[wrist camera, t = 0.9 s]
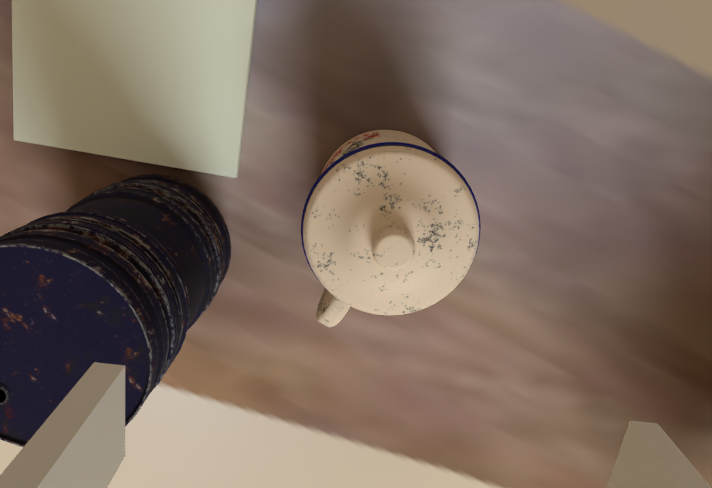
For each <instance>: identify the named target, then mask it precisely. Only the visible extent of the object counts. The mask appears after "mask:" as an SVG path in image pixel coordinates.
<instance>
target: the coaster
mask: <svg viewBox="0 0 712 488" xmlns="http://www.w3.org/2000/svg"><path fill="white" fill-rule="evenodd" d="M257 2H258V0H12V56H13V122H14V140H16V141H22V142H28V143H34V144H40V145H45V146H51V147H57V148H63V149H69V150H75V151H81V152H86V153H92V154H98V155H104V156H110V157H116V158H122V159H127V160H133V161H139V162H145V163H151V164H157V165H163V166H168V167H174V168H180V169H186V170H192V171H198V172H203V173H209V174H215V175H221V176H227V177H233V178H237V177H238V176H239V166H240V157H241V148H242V139H243V130H244V121H245V112H246V102H247V93H248V84H249V75H250V66H251V57H252V48H253V39H254V29H255V20H256V11H257Z"/></svg>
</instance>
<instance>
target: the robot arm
mask: <svg viewBox="0 0 712 488" xmlns="http://www.w3.org/2000/svg"><path fill="white" fill-rule="evenodd" d="M124 457H125V366H124V365H115V364H106V363H97V362H94V363H93V364H92V365H91V367H90V368H89V369H88V370H87V371H86V373H85V374H84V375H83V376H82V377H81V379H80V380H79V381H78V382H77V384H76V385H75V386H74V387H73V388H72V390H71V391H70V392H69V393H68V394H67V396H66V397H65V398H64V399H63V400H62V402H61V403H60V404H59V405H58V406H57V408H56V409H55V410H54V411H53V412H52V414H51V415H50V416H49V417H48V418H47V420H46V421H45V422H44V423H43V424H42V426H41V427H40V428H39V429H38V431H37V432H36V433H35V434H34V435H33V437H32V438H31V439H30V440H29V441H28V443H27V444H26V445H25V446H24V447H23V449H22V450H21V451H20V452H19V454H18V455H17V456H16V457H15V458H14V460H13V461H12V462H11V463H10V464H9V466H8V467H7V468H6V469H5V470H4V472H3V473H2V474H1V475H0V488H107V487H108V485H109V483H110V481H111V480H112V478H113V476H114V474H115V473H116V471H117V469H118V467H119V465H120V464H121V462H122V460H123V458H124ZM607 488H712V487H711V486H710V485H709V484H708V483H707V481H706V480H705V479H704V478H703V477H702V475H701V474H700V473H699V472H698V471H697V470H696V468H695V467H694V466H693V465H692V464H691V462H690V461H689V460H688V459H687V458H686V456H685V455H684V454H683V453H682V452H681V451H680V449H679V448H678V447H677V446H676V445H675V443H674V442H673V441H672V440H671V439H670V437H669V436H668V435H667V434H666V433H665V432H664V430H663V429H662V428H661V427H660V426H659V424H658V423H649V422H640V421H631V420H630V421H629V424H628V427H627V430H626V433H625V436H624V438H623V441H622V444H621V447H620V450H619V453H618V456H617V459H616V462H615V465H614V467H613V470H612V473H611V476H610V479H609V482H608V485H607Z"/></svg>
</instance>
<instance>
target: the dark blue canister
mask: <svg viewBox="0 0 712 488" xmlns="http://www.w3.org/2000/svg"><path fill="white" fill-rule="evenodd" d="M230 258H231V243H230V236H229V232H228V229H227V226H226V223H225V221H224V219H223V217H222V215H221V214H220V212H219V211H218V209H217V208H216V206H215V205H214V204H213V203H212V202H211V201H210V199H209V198H208V197H207V196H205V195H204V194H203V193H202V192H201V191H199V190H198V189H196V188H195V187H193V186H191V185H190V184H188V183H186V182H184V181H181V180H179V179H176V178H172V177H169V176H164V175H154V174H153V175H140V176H135V177H131V178H128V179H126V180H123V181H121V182H119V183H115V184H112V185H109V186H107V187H104V188H102V189H100V190H98V191H95V192H94V193H92V194H90V195H89V196H87V197H85V198H84V199H83V200H81V201H79V202H78V203H76V204H75V205H73V206H71V207H70V208H69V209H68V210H67V211H66V212H61V213H56V214H51V215H47V216H44V217H41V218H39V219H36V220H34V221H31V222H30V223H28V224H27V225H24V226H22V227H19V228H17V229H15V230H13V231H11V232H8V233H6V234H4V235H3V236H1V237H0V439H1V440H3V441H6V442H9V443H12V444H15V445H18V446H22V447H24V446H25V445H26V444H27V443H28V441H29V440H30V439H31V438H32V437H33V435H34V434H35V433H36V432H37V431H38V429H39V428H40V427H41V426H42V424H43V423H44V422H45V421H46V420H47V418H48V417H49V416H50V415H51V414H52V412H53V411H54V410H55V409H56V408H57V406H58V405H59V404H60V403H61V402H62V400H63V399H64V398H65V397H66V396H67V394H68V393H69V392H70V391H71V390H72V388H73V387H74V386H75V385H76V384H77V382H78V381H79V380H80V379H81V377H82V376H83V375H84V374H85V373H86V371H87V370H88V369H89V368H90V367H91V365H92V364H93V363H94V362H97V363H106V364H115V365H124V366H125V426H126V425H127V424H128V423H129V422H130V421H131V420H132V419H133V417H134V416H135V415H136V414H137V412H138V411H139V409H140V407H141V406H142V405H143V403H144V401H145V400H146V398H147V397H148V395H149V394H150V392H151V391H152V390H153V389H154V388H155V387H156V386H157V385H158V384H159V382H160V381H161V379H162V377H163V376H164V374H165V373H166V371H167V370H168V368H169V366H170V365H171V363H172V362H173V361H174V359H175V357H176V356H177V354H178V353H179V351H180V349H181V347H182V344H183V342H184V339H185V336H186V332H187V330H188V329H189V328H190V327H191V326H192V325H193V324H194V323H195V322H196V321H197V319H198V318H199V317H200V316H201V314H202V313H203V312H204V311H205V310H206V309H207V307H208V306H209V304H210V303H211V301H212V299H213V298H214V296H215V295H216V293H217V291H218V288H219V286H220V284H221V282H222V281H223V279H224V277H225V275H226V273H227V270H228V268H229V263H230Z"/></svg>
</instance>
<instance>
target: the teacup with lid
mask: <svg viewBox="0 0 712 488" xmlns="http://www.w3.org/2000/svg"><path fill="white" fill-rule="evenodd" d="M301 238H302V245H303V249H304V253H305V256H306V259H307V262H308V264H309V266H310V268H311V270H312V271H313V273H314V275H315V276H316V278H317V279H318V280H319V282H320V283H321V284H322V285H323V286H324V287H325V290H324V292H323V294H322V297H321V299H320V302H319V305H318V308H317V313H316V317H317V320H318V321H319V322H320V323H322V324H324V325H325V326H328V327H333V326H335V325H336V324H338V323H339V322H340V321H341V319H342V318H343V317H344V316H345V314H346V313H347V311H348V310H349V308H350V307H353V308H355V309H358V310H361V311H364V312H368V313H373V314H378V315H400V314H407V313H412V312H415V311H419V310H421V309H424V308H427V307H429V306H431V305H433V304H435V303H436V302H438V301H439V300H441V299H442V298H444V297H445V296H446V295H448V294H449V293H450V292H451V291H452V290H453V289H454V288H455V287H456V286H457V285H458V284H459V283H460V282H461V280H462V279H463V278H464V276H465V275H466V273H467V272H468V270H469V268H470V266H471V264H472V262H473V260H474V257H475V255H476V252H477V248H478V244H479V238H480V215H479V209H478V206H477V202H476V199H475V196H474V194H473V192H472V190H471V188H470V186H469V184H468V183H467V181H466V179H465V178H464V177H463V176H462V174H461V173H460V172H459V171H458V170H457V169H456V168H455V167H454V166H453V165H452V164H451V163H450V162H449V161H447V160H446V159H445V158H443V157H442V156H440V155H439V154H437V153H436V152H435V151H434V150H433V149H432V148H431V147H430V146H429V145H427V144H426V143H425V142H423V141H422V140H420V139H419V138H417V137H415V136H413V135H410V134H408V133H405V132H401V131H396V130H374V131H369V132H366V133H362V134H360V135H357V136H355V137H353V138H351V139H350V140H348V141H347V142H345V143H344V144H343V145H341V146H340V147H339V148H338V149H337V150H336V151H335V152H334V153H333V154H332V156H331V157H330V158H329V160H328V161H327V163H326V165H325V167H324V169H323V171H322V173H321V176H320V177H319V178H318V179H317V181H316V182H315V184H314V186H313V187H312V189H311V191H310V193H309V195H308V197H307V200H306V203H305V206H304V210H303V214H302V221H301Z"/></svg>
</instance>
